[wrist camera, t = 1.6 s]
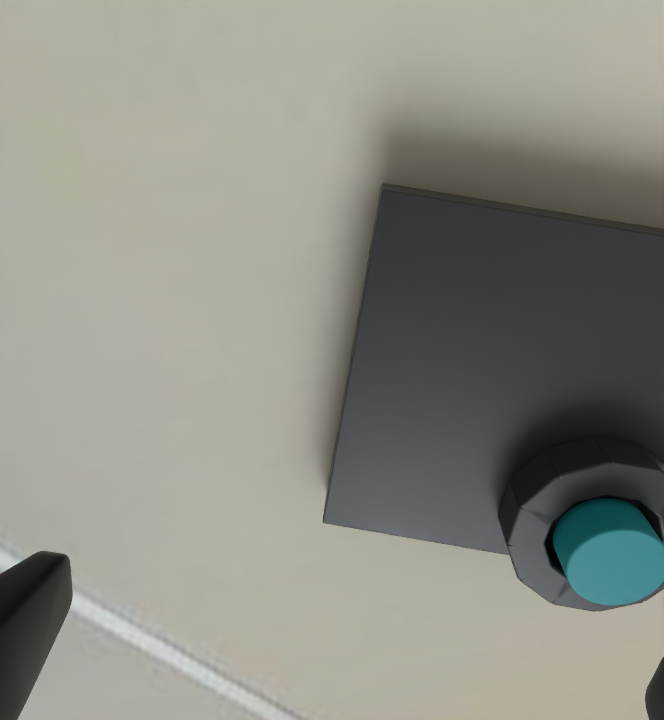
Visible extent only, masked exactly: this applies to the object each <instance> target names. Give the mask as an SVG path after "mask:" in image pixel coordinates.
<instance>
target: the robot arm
mask: <svg viewBox="0 0 664 720" xmlns="http://www.w3.org/2000/svg"><path fill="white" fill-rule="evenodd" d="M72 596H73V592H72V579H71V567H70V560H69V558H68V556H67V555H65V554H61V553H55V552H49V551H40V552H37V553H35V554H33V555H32V556H30V557H28V558H27V559H25V560H23V561H22V562H20V563H18V564H17V565H15V566H13V567H11V568H10V569H8V570H6V571H5V572H3V573H1V574H0V720H17V719H18V717H19V715H20V713H21V711H22V709H23V707H24V705H25V703H26V701H27V699H28V697H29V695H30V693H31V691H32V689H33V687H34V684H35V682H36V680H37V678H38V676H39V674H40V672H41V669H42V667H43V665H44V663H45V661H46V659H47V656H48V654H49V652H50V650H51V648H52V646H53V644H54V641H55V639H56V637H57V635H58V633H59V631H60V629H61V626H62V624H63V622H64V620H65V618H66V616H67V614H68V611H69V609H70V606H71V602H72ZM645 702H646V709H647V713H648V717H649V720H664V657H663V659H662V660H661V662H660V664H659V666H658V668H657V670H656V672H655V674H654V676H653V678H652V679H651V681H650V683H649V685H648V687H647V690H646V695H645Z"/></svg>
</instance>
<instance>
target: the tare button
mask: <svg viewBox="0 0 664 720" xmlns="http://www.w3.org/2000/svg"><path fill="white" fill-rule="evenodd" d="M553 545H554V549H555V551H556V553H557V556H558V558H559V561H560V563H561V565H562V568H563V570H564V573H565V575H566V578H567V580H568V582H569V584H570V586H571V587H572V589H573V590H574V591H575V592H576V593H577V594H579V595H580V596H581V597H583V598H584V599H586V600H589V601H591V602H594V603H598V604H603V605H622V604H628V603H632V602H635V601H638V600H640V599H642V598H644V597H646V596H648V595H650V594H651V593H652V592H654V591H655V590H656V589H657V588H658V587H659V586H660V585H661V584H662V583H663V581H664V544H663V542H662V541H661V540H660V538H659V537H658V535H657V534H656V532H655V531H654V529H653V528H652V526H651V525H650V523H649V522H648V520H647V519H646V518H645V516H644V515H643V513H642V512H641V511H640V510H639V509H638V508H636V507H635V506H633V505H632V504H630V503H628V502H625V501H623V500H619V499H614V498H597V499H591V500H588V501H584V502H582V503H580V504H578V505H576V506H574V507H572V508H571V509H569V510H568V511H567V512H566V513H565V514H564V515H563V516H562V517H561V518H560V519H559V521H558V522H557V524H556V526H555V529H554V533H553Z"/></svg>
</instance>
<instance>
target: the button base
mask: <svg viewBox="0 0 664 720" xmlns="http://www.w3.org/2000/svg"><path fill="white" fill-rule="evenodd" d="M597 498H614V499H619V500H623V501H625V502H628V503H630V504H632V505H633V506H635V507H636V508H638V509H639V510H640V511H641V512H642V513H643V515H644V516H645V518H646V519H647V520H648V522H649V523H650V525H651V526H652V528H653V529H654V531H655V532H656V534H657V535H658V537H659V538H660V540H661V541H662V542H663V544H664V229H658V228H652V227H646V226H640V225H634V224H628V223H622V222H616V221H610V220H603V219H597V218H591V217H585V216H579V215H573V214H567V213H561V212H555V211H549V210H543V209H537V208H531V207H525V206H518V205H512V204H506V203H500V202H494V201H488V200H482V199H476V198H470V197H464V196H458V195H452V194H446V193H440V192H433V191H427V190H421V189H415V188H409V187H403V186H397V185H391V184H385V183H383V184H382V185H381V190H380V195H379V201H378V207H377V212H376V218H375V223H374V229H373V235H372V240H371V246H370V252H369V257H368V263H367V268H366V274H365V280H364V285H363V291H362V297H361V302H360V308H359V314H358V319H357V325H356V330H355V336H354V342H353V347H352V353H351V359H350V364H349V370H348V375H347V381H346V387H345V392H344V398H343V404H342V409H341V415H340V421H339V426H338V432H337V437H336V443H335V449H334V454H333V460H332V466H331V471H330V477H329V482H328V488H327V494H326V501H325V508H324V515H323V523H327V524H332V525H338V526H344V527H350V528H356V529H361V530H367V531H373V532H379V533H384V534H390V535H396V536H402V537H408V538H413V539H419V540H425V541H431V542H436V543H442V544H448V545H454V546H460V547H465V548H471V549H477V550H483V551H489V552H494V553H500V554H506V555H510V557H511V560H512V563H513V566H514V569H515V572H516V575H517V578H518V579H519V580H520V581H521V582H522V583H524V584H525V585H527V586H528V587H529V588H531V589H532V590H533V591H535V592H536V593H537V594H539V595H540V596H542V597H543V598H544V599H546V600H547V601H548V602H550V603H552V604H554V605H560V606H566V607H572V608H577V609H583V610H589V611H604V610H609V609H613V608H618V607H623V606H628V605H632V604H637V603H642V602H644V601H646V600H648V599H650V598H651V597H652V596H654V595H655V594H657V593H658V592H660V591H661V590H663V589H664V581H663V583H662V584H661V585H660V586H659V587H658V588H657V589H656V590H655V591H654V592H652V593H651V594H650V595H648V596H646V597H644V598H642V599H640V600H638V601H635V602H632V603H628V604H622V605H603V604H598V603H594V602H591V601H589V600H586V599H584V598H583V597H581V596H580V595H579V594H577V593H576V592H575V591H574V590H573V589H572V587H571V586H570V584H569V582H568V580H567V578H566V575H565V573H564V570H563V568H562V565H561V563H560V561H559V558H558V556H557V553H556V551H555V549H554V545H553V533H554V529H555V526H556V524H557V522H558V521H559V519H560V518H561V517H562V516H563V515H564V514H565V513H566V512H567V511H568V510H569V509H571V508H572V507H574V506H576V505H578V504H580V503H582V502H584V501H588V500H591V499H597Z"/></svg>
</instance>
